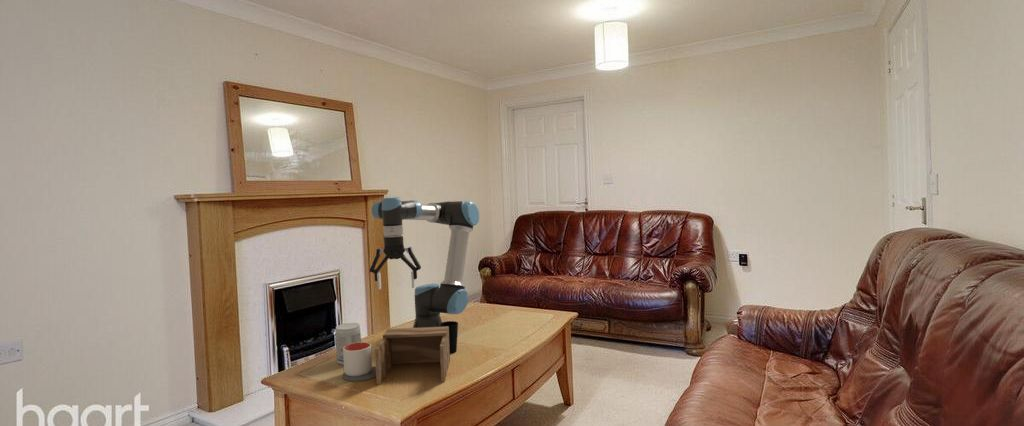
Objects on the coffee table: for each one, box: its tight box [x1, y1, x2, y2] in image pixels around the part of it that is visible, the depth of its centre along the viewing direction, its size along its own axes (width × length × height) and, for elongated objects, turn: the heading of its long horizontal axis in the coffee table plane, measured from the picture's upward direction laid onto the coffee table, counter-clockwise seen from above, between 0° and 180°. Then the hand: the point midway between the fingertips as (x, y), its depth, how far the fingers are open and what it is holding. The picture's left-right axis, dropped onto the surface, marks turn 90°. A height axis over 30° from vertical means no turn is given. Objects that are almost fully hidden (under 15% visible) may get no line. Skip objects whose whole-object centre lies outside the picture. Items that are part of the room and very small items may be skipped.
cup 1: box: [343, 341, 373, 376], centre depth 184 cm, size 10×10×10 cm
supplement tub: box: [335, 322, 362, 366], centre depth 198 cm, size 10×10×15 cm
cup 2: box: [440, 320, 459, 354], centre depth 207 cm, size 8×8×12 cm
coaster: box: [342, 365, 376, 383], centre depth 184 cm, size 14×14×1 cm
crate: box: [374, 326, 451, 386], centre depth 184 cm, size 22×24×14 cm
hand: (396, 288), depth 198 cm, fingers open, 13 cm apart
